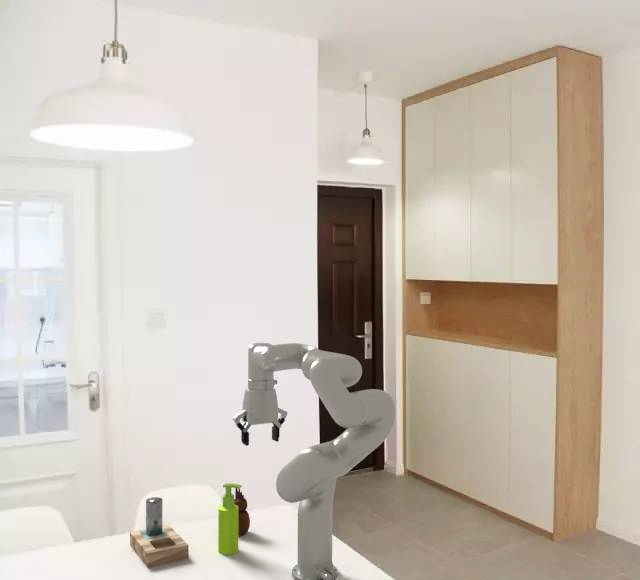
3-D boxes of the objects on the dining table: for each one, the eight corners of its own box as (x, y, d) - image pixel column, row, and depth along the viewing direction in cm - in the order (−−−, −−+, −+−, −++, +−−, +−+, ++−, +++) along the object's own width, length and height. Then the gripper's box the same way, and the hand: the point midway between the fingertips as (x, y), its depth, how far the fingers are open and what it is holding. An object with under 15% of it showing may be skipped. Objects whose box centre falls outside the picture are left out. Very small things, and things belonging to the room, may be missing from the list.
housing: (188, 558, 199) (188, 544, 199) (147, 567, 193) (147, 553, 193) (168, 537, 214) (168, 524, 214) (130, 545, 208) (129, 531, 208)
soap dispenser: (238, 556, 201) (238, 488, 200) (215, 554, 202) (215, 486, 202) (244, 548, 207) (244, 482, 206) (222, 546, 208) (222, 480, 207)
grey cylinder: (164, 534, 207) (164, 500, 206) (148, 537, 204) (148, 503, 204) (159, 528, 211) (159, 496, 210) (144, 531, 208) (144, 498, 208)
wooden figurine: (227, 531, 220) (227, 484, 219) (245, 528, 222) (245, 482, 222) (234, 539, 214) (234, 491, 213) (252, 536, 216) (252, 488, 216)
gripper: (281, 380, 211) (280, 436, 212) (228, 385, 202) (228, 443, 203) (292, 384, 205) (292, 441, 205) (238, 389, 196) (238, 449, 196)
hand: (260, 442), depth 204 cm, fingers open, 9 cm apart
